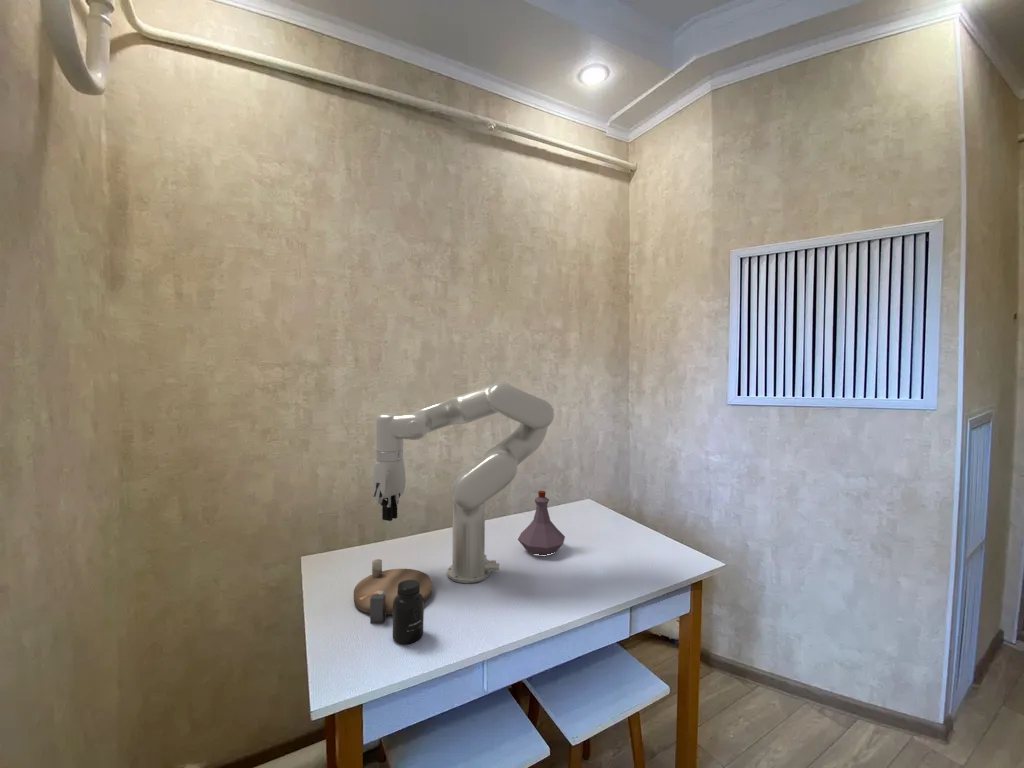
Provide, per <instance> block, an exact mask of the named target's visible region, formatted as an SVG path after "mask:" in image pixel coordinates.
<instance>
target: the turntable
mask: <svg viewBox="0 0 1024 768" xmlns="http://www.w3.org/2000/svg"><path fill="white" fill-rule="evenodd" d="M371 565H372V567H371V574H370V575H368V576H366V577H364V578H363V579H361V580H360V581H359V582H358V583H357V584H356V585H355V586H354V589H353V603H354V605H355V607H356V608H357V609H359V610H361V611H362V612H365V613H368V614H370V598H371V597H372V595H373V594H378V593H379V591H384V594H386V615H393V600H394V598H395V597H396V596H397V595H398V594H397V591H398V584H399V583H400V582H402V581H404V580H416V581H418V582H419V584H420V592H419V593H421V594H422V596H423V598H424V603H425V602H426V601H427V600H428V599H429V598H430V597H431V594H432V588H433V581H432V579H431V577H430V575H428V574H427V573H425V572H423V571H421V570H417V569H412V568H394V569H393V568H392V569H386V570H383V560H382V559H380V558H379V559H378V558H377V559H373V560H372V563H371Z"/></svg>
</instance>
